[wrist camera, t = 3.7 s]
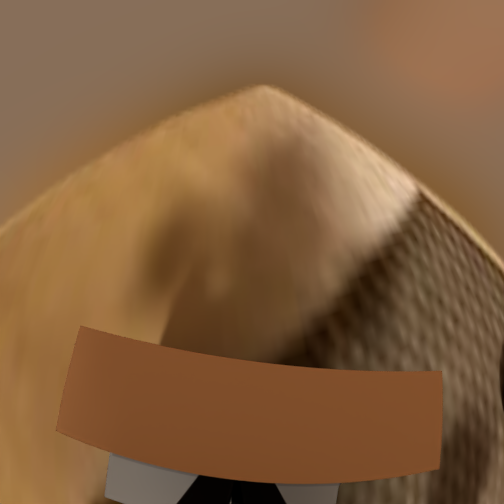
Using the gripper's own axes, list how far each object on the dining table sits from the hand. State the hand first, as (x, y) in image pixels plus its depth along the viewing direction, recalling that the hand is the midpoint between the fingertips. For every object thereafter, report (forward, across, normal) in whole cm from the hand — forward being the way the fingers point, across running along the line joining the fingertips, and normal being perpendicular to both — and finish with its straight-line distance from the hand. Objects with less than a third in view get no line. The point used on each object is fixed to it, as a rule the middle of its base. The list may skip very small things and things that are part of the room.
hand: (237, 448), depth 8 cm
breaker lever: (+4, 0, +3) cm, 5 cm away
